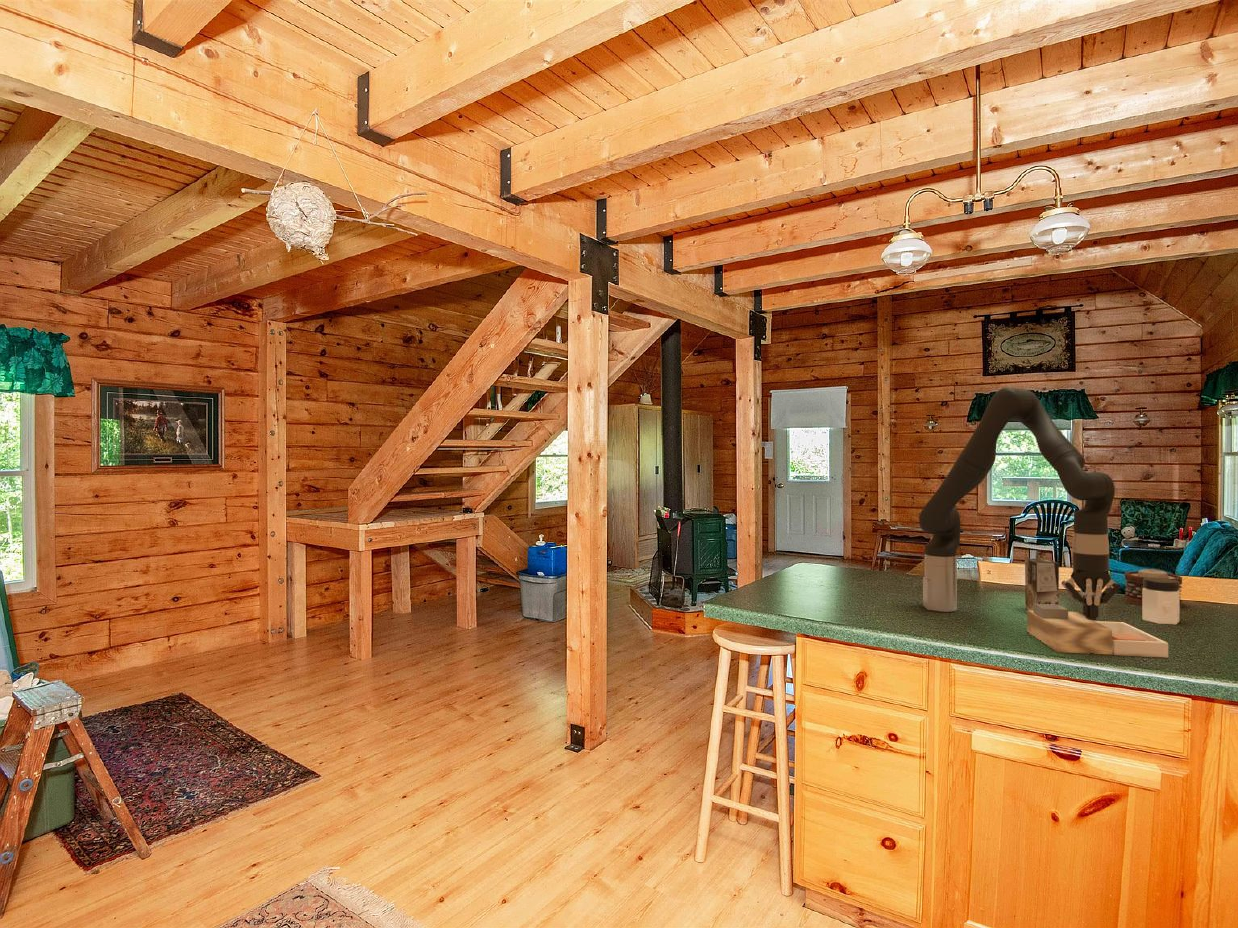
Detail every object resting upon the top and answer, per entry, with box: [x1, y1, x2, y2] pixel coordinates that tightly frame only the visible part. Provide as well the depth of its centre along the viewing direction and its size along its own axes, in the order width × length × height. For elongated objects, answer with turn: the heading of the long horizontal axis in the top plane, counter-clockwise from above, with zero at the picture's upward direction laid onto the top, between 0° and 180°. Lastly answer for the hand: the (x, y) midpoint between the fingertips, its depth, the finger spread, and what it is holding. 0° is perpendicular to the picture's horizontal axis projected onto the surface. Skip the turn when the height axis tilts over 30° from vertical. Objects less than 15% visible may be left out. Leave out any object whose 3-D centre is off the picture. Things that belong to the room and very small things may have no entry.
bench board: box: [1026, 609, 1113, 655], centre depth 173 cm, size 12×19×6 cm, turn 168°
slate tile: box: [1034, 604, 1069, 619], centre depth 177 cm, size 6×6×2 cm
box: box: [1094, 620, 1169, 659], centre depth 171 cm, size 11×20×4 cm, turn 168°
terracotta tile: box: [1112, 633, 1145, 641], centre depth 168 cm, size 6×6×2 cm
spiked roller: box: [1124, 568, 1184, 609], centre depth 215 cm, size 15×11×15 cm
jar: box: [1141, 578, 1181, 626], centre depth 194 cm, size 9×8×12 cm
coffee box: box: [1024, 558, 1060, 611], centre depth 206 cm, size 9×6×16 cm
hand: (1090, 619), depth 169 cm, fingers closed
